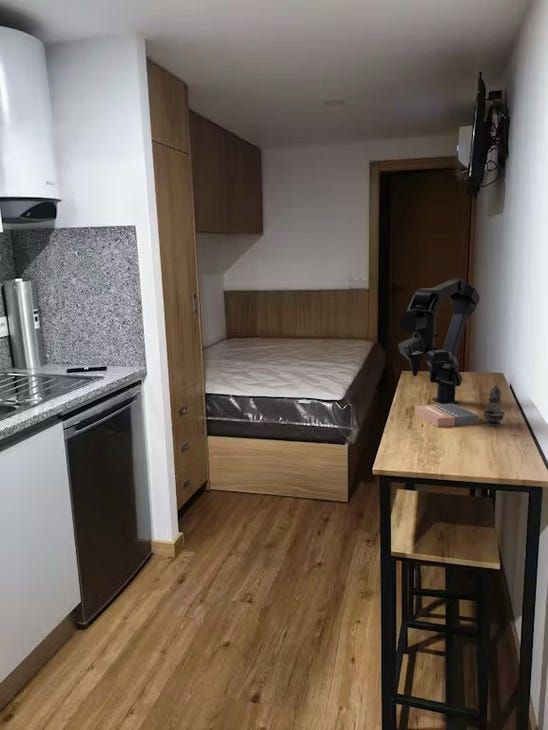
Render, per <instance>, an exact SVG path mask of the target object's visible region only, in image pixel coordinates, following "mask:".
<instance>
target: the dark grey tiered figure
mask: <svg viewBox="0 0 548 730" xmlns="http://www.w3.org/2000/svg"><path fill="white" fill-rule="evenodd" d="M501 393H502V390H501V389H500V388H499V387H498V385H497V384H495V385H494V387H492V388H491V389H490V393H489V394H490V395H489V398H488V401H489V402H488V408H487V409H485V410H483V416H484V419H485V420H486V421H484V422H483V425H484V426H486V427H490V426H493V427H492V428H501V426H502V427H503V426H504V424H503V423H501V421H502V420H503V419H504V416H505V415H506V413H505V412H504V411H502V410H501V402H502V399H501V395H502V394H501Z"/></svg>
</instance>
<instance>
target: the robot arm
mask: <svg viewBox="0 0 548 730" xmlns="http://www.w3.org/2000/svg"><path fill="white" fill-rule="evenodd" d="M446 298H449V299H450V306H451V311H452V312H453V313H452V317H451V320H450V323H449V326H448V329H447V334H446V335H445V336H446V337H445V340H444V344H443V347H442V349H438V346H437V345H435V338H438V336H439V334H438V333H437V332H436V316H437V315H439V311H438V310H437V308H438V307H439V306H440V305H442V302H443V300H445V299H446ZM479 302H480V294H479V293H478V290H477V289H476V288H475V287H473V286H472V285H470V284H468V283H467V281H466V280H465V279H463V278H450V279H448V280H447V281H445V282H443V283H441V284H437V285H436V286H434V287H429V288H427V287H426V288H425V287H424V288H417V289H416V290H415V292H414V294H413V296H412V299H411V301H410V302H409V306H408V307H407V310H406V311H405V314H404V315H402V317H401V319H400V320H399V326H400V329H401V330H402V332H404V333H406V334H411V338H408V339H405V340H404V341H402V342H399V343H398V344H397V346H398V349H399V353H400V355H402V356H404V357H405V358H406V359H407V360H408V362H409V366H410V369H411V370H410V371H411V373H412V376H413V377H417V376H418V373H419V370H420V366H421V362H422V359H423V356H425V358H426V360H425V362H426V364H427V365H428V370H429V371H428V373H429V382H430V383H431V384H434V383H435V384H436V397H433V398H432V400H433V402H436V403H438V404H451V403H453V404H459V400H456V387H460V386H461V385H462V382H463V377H462V375H461V373H460V371H459V367H460V364H459V361H458V358H457V356H458V352H459V348H460V346H461V342H462V337H463V335H464V331H465V328H466V325H467V321H468V319H469V318H468V317H469V316H471V315H472V314H473V313H474V312H475V311H476V309H477V307H478V304H479Z"/></svg>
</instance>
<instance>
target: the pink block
mask: <svg viewBox="0 0 548 730" xmlns="http://www.w3.org/2000/svg"><path fill="white" fill-rule="evenodd" d="M432 405H433V404H427V405H425V404H423V405H414V415H416V416H417V417H420V418H421V419H423V420H425V421H426V422H428V423H430V424H432V425H433V426H435V427H437V428H438V427H439V428H441V427H453V426H456V425H455V417H454V416H452V415H450V414H448V413H446V412H444V411H442V410H440V409H438V408H436V407H434V406H432Z"/></svg>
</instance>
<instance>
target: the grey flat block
mask: <svg viewBox="0 0 548 730" xmlns="http://www.w3.org/2000/svg"><path fill="white" fill-rule="evenodd" d="M431 405H432V406H434V407H436V408H438V409H440V410H442V411H444V412H446V413H448V414H450V415H452V416H454V417H455V426H464V425H465V426H467V425H477V424H478V421H479V420H478V419H479V415H478V414H476V413H473V412H472V411H469V410H467V409H465V408H463V407H461V406H460V405H457V404H456V403H449V404H441V403H436V404H431Z"/></svg>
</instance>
